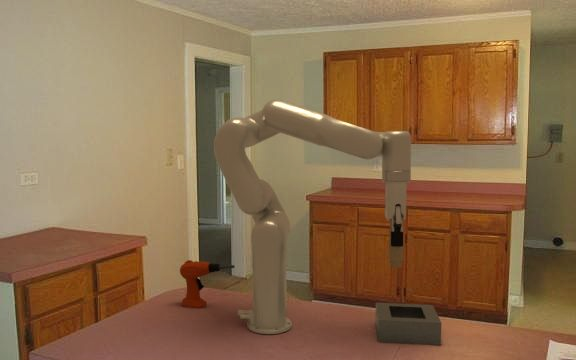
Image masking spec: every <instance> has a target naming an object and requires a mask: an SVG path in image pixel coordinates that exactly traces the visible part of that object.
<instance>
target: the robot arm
mask: <svg viewBox="0 0 576 360" xmlns="http://www.w3.org/2000/svg"><path fill="white" fill-rule="evenodd" d="M279 134H283V135H286V136H290V137H292V138H294V139H295V138H296V139H299V140H302V141H305V142H308V143H311V144H314V145H317V146H322V147H325V148H329V149H333V150H334V151H335V150H336V151H338V152H341V153H344V154H347V155H350V156H353V157H356V158H360V159H363V160H373V159H376V158H378V157H381V161H382V162H381V164H382V165H381V182H382V183H383V184H385V190H384V191H385V192H384V193H385V196H384V197H385V198H384V217H385V219H386V220H387V221H390V219H392V231H391V246H392V247H402V246H403V247H404V230H403V229H404V227H403V226H404V224H403V221H405V220H406V216H407V184H410V183H411V180H412V170H411V166H412V164H411V163H412V136H411V133H410V132H409V131H406V130H388V131H385V132H384V131H383V132H382V131H374V130H372V129H368V128H364V127H360V126H357V125H355V124H353V123H348V122H346V121H343V120H340V119H337V118H334V117H332V116H330V115H328V114H325V113H323V112H320V111H316V110H313V109H310V108H307V107H304V106H301V105H298V104H294V103H291V102H288V101H285V100H281V99H272V100H269V101H267V102H266V103H265V104H264V106H263V108H262V109H260V110H259V111H256V112H254V113H252V114H250V115H247V116H245V117H240V116H239V117H232V118H229V119H228V120H227V121H225V122H224V123H222V125H221V126H220V127H219V129H218V130H217V133H216V135H215V137H214V141H213V142H214V143H213V153H214V157H215V161H216V164H217V166H218V168H219V169H220V172H221V174H222V175H223V177H224V179H225V182H226V184H227V186H228V188H229V190H230V191H231V194H232V196H233V198H234V200H235V203H236V204H237V206H238V208H239V209H240V211H241V212H242V213H244V214H245V215H249V216H251V218H252V219H253V222H254V224H253V228H252V230H251V234H250V245H251V254H252V256H251V257H252V309H249V310H245V309H238V310H237V317H239V318H240V319H239V320H248V321H247V322H246V324H247V325H246V328H247V329H248V330H249V331H251V332H253V333H256V334H260V335H279V334H282V333H284V332H287V331H289V330H290V329H292V326H293V325H292V320H291V319H290V318H289V317H287V274H288V273H287V238H288V236H289V234H290V231H291V224H290V220H289V218H288V216H287V213H286V212H285V210H284V208H283V205H282V204H281V202H280V199H279V198H278V196H277V194H276V192H275V191H274V189H273V187H272V186H271V184H270V183H269V182H268V181H266V180H265V179H262V178H260V177H259V176H258V173H257V172H256V170H255V168H254V166H253V164H252V162H251V160H250V159H249V157H248V155H247V152H246V149H247V148H251V147H253V146H256V145H258V144H259V143H262V142H263V141H266V140H269V139H270V138H273V137H275V136H277V135H279ZM401 213H402V215H404V217H403V216H402V217H401ZM393 215H394V217H396V220H393ZM394 222H396V223H394ZM388 230H389V232H388V233H389V235H390V227H389V229H388ZM389 235H388V236H389Z"/></svg>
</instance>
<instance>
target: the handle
mask: <svg viewBox="0 0 576 360" xmlns="http://www.w3.org/2000/svg"><path fill="white" fill-rule="evenodd" d="M402 216H403V217H404V215H402V213H401V217H402ZM393 220H396V217H394V215H393ZM394 223H396V222H394ZM389 228H390V235H388V236H389V239H388V251H389V252H388V254H389V255H388V256H389V258H388V259H389V265H390V267H393V268H401V267H402V266H403V263H404V262H403V260H404V245H403V246H402V247H392V246H391V231H392V219H390V220H389Z"/></svg>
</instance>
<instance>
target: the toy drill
mask: <svg viewBox="0 0 576 360" xmlns="http://www.w3.org/2000/svg"><path fill="white" fill-rule="evenodd" d="M224 269H227V270H228V269H235V265H234V264H226V265H220V263H212V262H207V261H203V260H202V261H193V260H191V259H188V260H186V261H185V262H184V263H183V264H182V265H181V266H180V268H179V273H180V276H181V277H182V278H183V279H185V282H186V295H185V297H183V298H182V304H181V305H182V307H184V306H185V307H186V308H190V307H191V308H190V309H192V308H193V309H203V308H205V307H206V306H207V301H206V300H204V299H203V298H202V297H201V293H200V291H202V289H203V288H204V287H205V285H204V284H202V282H201V281H202V280H201V279H200V278H201V277H204V276H207V275H209V274H210V275H211V274H212V273H216V272H217V273H218V272H220V271H221V270H224Z"/></svg>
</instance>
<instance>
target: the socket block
mask: <svg viewBox="0 0 576 360" xmlns="http://www.w3.org/2000/svg"><path fill="white" fill-rule="evenodd" d="M374 320H375V321H374V322H375V328H376V335H377V342H378V343H386V344H387V343H388V344H408V345H425V346H427V345H429V346H441V345H442V321H441V319H440V316H439V315H438V314H437V311H436V309H435V307H434V305H433V304H419V303H418V304H416V303H413V304H412V303H397V302H396V303H394V302H393V303H391V302H375V319H374Z"/></svg>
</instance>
